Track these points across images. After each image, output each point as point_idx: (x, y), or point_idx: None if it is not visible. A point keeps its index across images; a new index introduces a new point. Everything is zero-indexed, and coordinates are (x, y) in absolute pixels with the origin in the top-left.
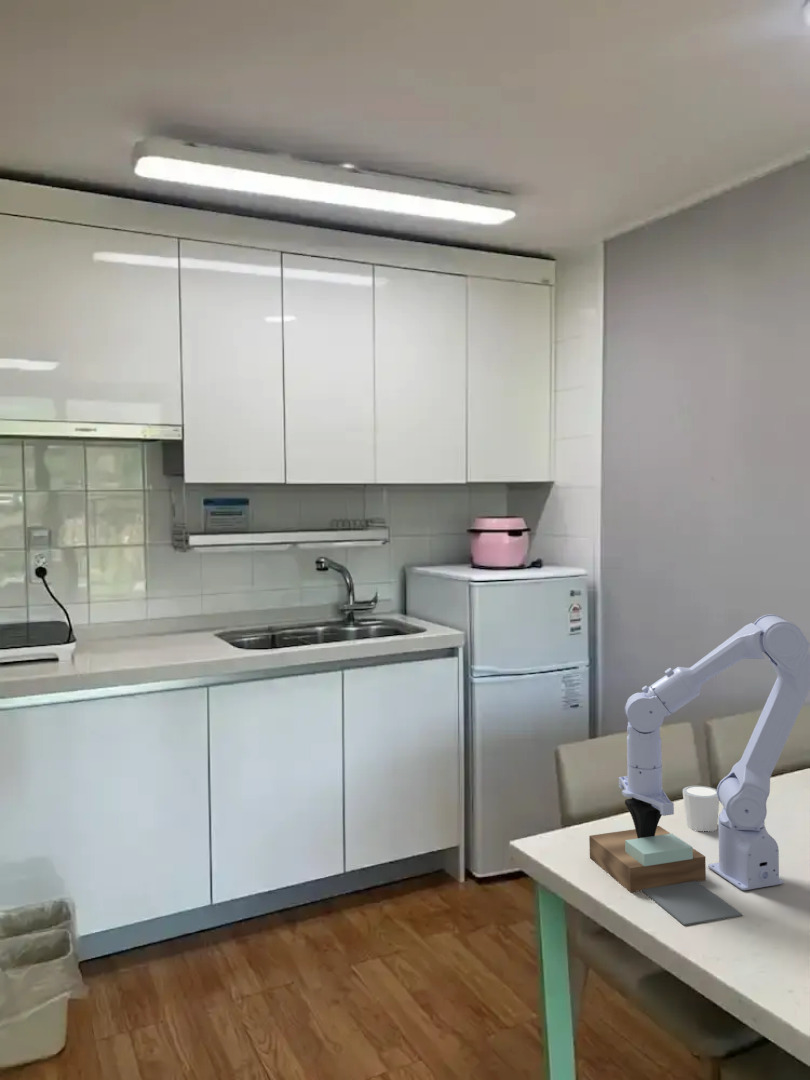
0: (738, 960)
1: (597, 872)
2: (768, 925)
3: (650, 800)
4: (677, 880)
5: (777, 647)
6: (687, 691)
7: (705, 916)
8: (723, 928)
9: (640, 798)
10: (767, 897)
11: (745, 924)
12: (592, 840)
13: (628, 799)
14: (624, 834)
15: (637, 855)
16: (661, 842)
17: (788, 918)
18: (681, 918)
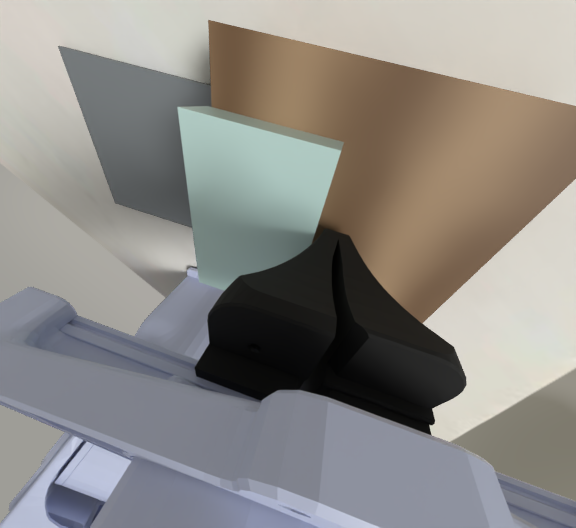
0: None
1: (438, 38)
2: (92, 209)
3: (28, 388)
4: None
5: None
6: None
7: (100, 133)
8: (70, 133)
9: (142, 401)
10: (170, 273)
11: (91, 182)
12: None
13: (442, 393)
14: (448, 259)
15: (243, 119)
16: (250, 249)
17: (114, 245)
18: (84, 64)
